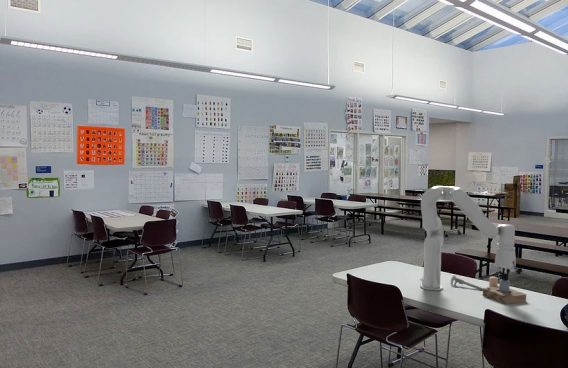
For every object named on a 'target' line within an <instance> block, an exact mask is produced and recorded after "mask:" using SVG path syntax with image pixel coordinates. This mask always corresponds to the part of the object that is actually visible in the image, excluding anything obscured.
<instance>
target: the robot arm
mask: <svg viewBox="0 0 568 368" xmlns="http://www.w3.org/2000/svg"><path fill="white" fill-rule="evenodd" d="M438 201H447V202H448V201H449V202H450V201H451V202H452V203H453V204H454V205H455V206H456V207H457V208H458V209H460V211H461V212H462V213H463V214H464V215H465V216H466V217H467V218H468V220H470V221H471V223H472V224H473V225H474V226H475V228H477V229H478V230H479V231H480V232H481V233H482V234H483V236H485V237H486V238H488V239H495V238H496V237H498V243H497V246H498V247H497V248H496V252H495V259H494V265H495V266H496V268H497V269H499V271H500V273H501V279H502V280H504V281H506V280H509V274H510V273H512V272H515V271H516V270H515V268H516V266H517V265H516V264H517V263H516V262H517V259H516V258H517V257H516V251H515V238H516V237H515V235H516V232H515V230H516V228H515V225H513V224H509V223H508V224H507V223H504V224H502V223H496V222H492V221H491V220H490V219H489V218H488V217H487V216H486V214H484V212H483V210H482V209H481V207H480V205H479V204H477V203H476V202H475V200H473V198H471V196H470V195H468V193H467V192H466V190H465V188H462V187H459V186H445V185H444V186H443V185H435V186H432V187H430V188H428V189H426V191H425V192H424V193H423V194H422V196H421V199H420V209H421V217H422V218H421V219H422V227H423V229H424V230H425V232H426V237H425V239H424V242H423V273H422V274H423V276H422V277H421V278H419V281H421V282H422V283H421V284H420V286H419V287H420V288H422V289H424V290H427V291H433V292H434V291H441V290H443V289H444V287H443V285H441V269H442V268H441V267H442V246H443V245H444V240H445V239H444V232H443V224H442V220H441V218H440V216H438V211H437V210H438V209H437V202H438Z"/></svg>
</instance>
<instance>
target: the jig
mask: <svg viewBox="0 0 568 368" xmlns="http://www.w3.org/2000/svg"><path fill="white" fill-rule="evenodd" d="M482 288H483V291H482V296H484V297H487V298H489V299H492V300H494V301H497V302H500V303H503V304H504V305H511V304H512V305H513V304H517V303H524V302H527V294H526V293H524V292H521V291H518V290H516V289H512V288H509V293H502V292H499V285H498V286H497V287H489V286H487V287H482Z"/></svg>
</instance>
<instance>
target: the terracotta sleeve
mask: <svg viewBox="0 0 568 368" xmlns="http://www.w3.org/2000/svg"><path fill="white" fill-rule="evenodd" d="M498 283H499V278H498V277H497V276H489V283H488V285H489V286H488V287H497V286H499V284H498Z"/></svg>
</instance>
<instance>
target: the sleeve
mask: <svg viewBox="0 0 568 368" xmlns="http://www.w3.org/2000/svg"><path fill="white" fill-rule="evenodd" d="M510 282H511V281H510V280H509V279H508V280H506V281H504V280H502V278H501V279H499V281H498V283H499V284H498V286H499V292H502V293H509V289H510V286H511V283H510Z"/></svg>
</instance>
